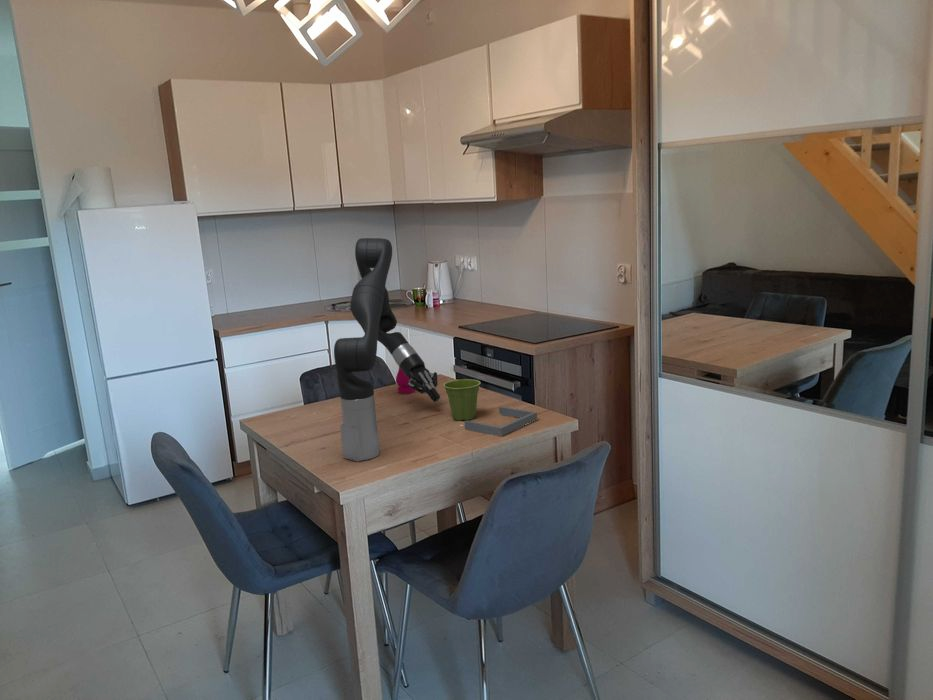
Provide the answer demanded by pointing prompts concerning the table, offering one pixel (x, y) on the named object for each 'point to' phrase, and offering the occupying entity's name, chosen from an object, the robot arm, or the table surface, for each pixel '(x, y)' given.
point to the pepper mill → (403, 382)
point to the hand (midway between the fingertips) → (437, 399)
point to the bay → (500, 431)
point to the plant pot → (462, 398)
